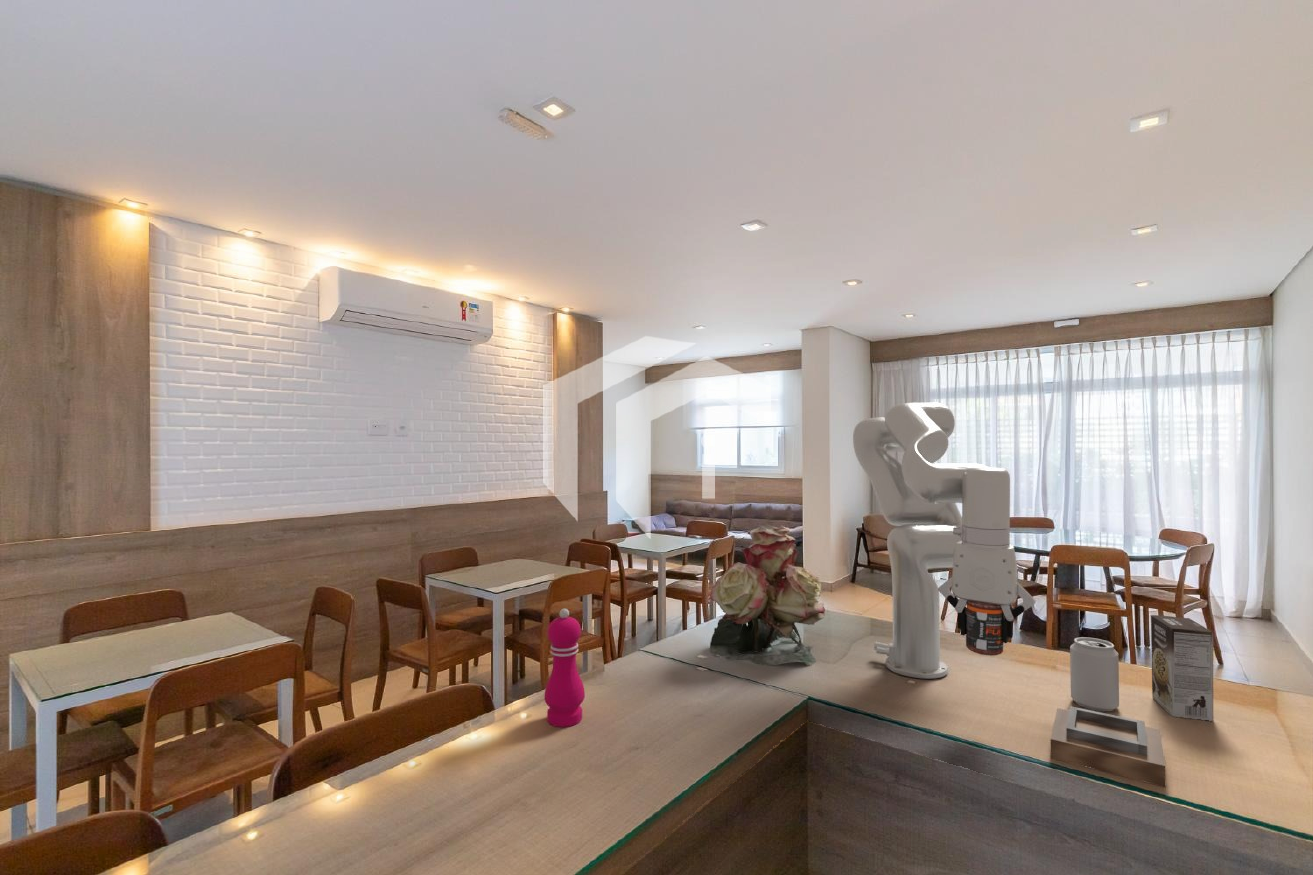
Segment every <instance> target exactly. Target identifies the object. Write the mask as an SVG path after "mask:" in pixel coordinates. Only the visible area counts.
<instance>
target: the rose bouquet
mask: <svg viewBox="0 0 1313 875" xmlns="http://www.w3.org/2000/svg"><path fill="white" fill-rule="evenodd" d="M790 531H791V529H790V528H789V527H785V526H784V525H783V524H782V525H780V526H779V527H777V526H774V525H769V524H768V525H761V524H759V526H758V527H756V528H753V529H751V530H749V531H747V535H749V536H750V538H751V540H752V542H753V544H750V545H749V546H748V547H744V548H742V549H741V551H742V553H743V554H744V558H745V561H746V563H742V562H736V563H734V564H732V565H731V566H728V569H726V571H724V573H723V574H722V575H721V576H720V577H718V578H717V579H716V581H715V583H714V585H712V588H711V590H710V591H711V592H710V594H709V598H710V599H711V600H712V601H714V602H715V603H716V605H718V606H719V609H721V610H722V612H723V613H724V615H722V616H721V618H720V619H718V622H717V626H716V627H714V628H713V629H714V632H713V633H712V636H711V640H710V643H709V647H710V648H709V650H710V653H711V656H713V657H717V658H726V657H730V659H728V661H729V660H731V661H732V660H749V661H751V662H752V663H754V664H756V665H765V666H778V665H781V664H782V665H783V664H788V663H789V664H790V663H796V662H797V663H798V662H799V663H804V664H805V665H806V666H813V664H814V663H816V662H817V660H816V658H815V657H814V655H813V654H812V652H811V650H812V648H814V645H808V646H805V644H803V642H802V641H803V639H802V637H801V636H800V633H799V630H798V628H797V626H796V624H795V623H797V624H803V625H808V626H809V625H811V626H813V625H814V626H815V623H818V622H819V621H820V620H822V619H824V617H825V613H826V609H825V606H824V602H820V601H819V598H820V597H821V593H820V592H821V591H822V582H821V580H820V578H819V577H818V576H815V575H813V573H811V572H810V571H809V570H808V569H806V568H805V567H801V566H795V561H796V560H797V557H798V553H799V551H798V549H796V546H797V544H795V542H796V540H797V539H796V538H795V537H793V536H790V535H788V534H787V533H789V532H790ZM776 641H779V643H776V644H773V642H774V643H775V642H776ZM772 644H773V645H772ZM769 648H771V649H770V650H769V651H765V652H760V651H763V650H764V649H769ZM758 652H759V653H758ZM743 653H744V654H743ZM739 654H742V655H739Z"/></svg>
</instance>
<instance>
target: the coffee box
mask: <svg viewBox="0 0 1313 875" xmlns="http://www.w3.org/2000/svg"><path fill="white" fill-rule="evenodd" d="M1150 625H1151V626H1150V634H1151V635H1150V637H1151V638H1150V642H1151V689H1152V690H1151V691H1152V692H1151V695H1152V696H1151V697H1152V699H1153V700H1154V701H1156V702H1157V704H1158V705H1160V707H1162V708H1163V709H1164V711H1166V712H1167V713H1168V714H1169V715H1170V716H1171V717H1173V718H1180V717H1185V718H1184V719H1189V718H1193V719H1192V720H1197V719H1201V720H1200V721H1205V720H1209V721H1208V722H1214V718H1215V717H1214V632H1213V631H1211V630H1210V629H1209V628H1207V627H1205V626H1203V625H1202V624H1200V623H1198V622H1197V621H1194V620H1193V619H1192V618H1190V617H1189V618H1188V617H1177V616H1170V615H1159V614H1158V615H1157V614H1151V615H1150Z"/></svg>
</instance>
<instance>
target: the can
mask: <svg viewBox="0 0 1313 875" xmlns="http://www.w3.org/2000/svg"><path fill="white" fill-rule="evenodd" d="M1073 641H1074V642H1073V643H1072V644H1071V645H1070V647H1069V652H1070V653H1069V654H1070V655H1069V657H1070V661H1069V663H1070V667H1069V668H1070V697H1071V699H1072V700H1073V701H1074V702H1075V703H1076V704H1077V705H1078V706H1080V707H1083V709H1086V710H1091V711H1095V710H1096V712H1102V711H1103V712H1102V713H1104V711H1108V712H1112V711H1114V710H1115V709H1117V708H1119V706H1120V683H1119V682H1120V670H1119V669H1120V667H1119V665H1120V664H1119V662H1120V661H1119V659H1120V658H1119V652H1118V651H1116V649H1115V645H1114V644H1113V643H1112V642H1110V641H1109V640H1104V639H1100V638H1095V637H1084V636H1081V637H1075V638H1074V639H1073Z"/></svg>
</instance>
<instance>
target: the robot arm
mask: <svg viewBox="0 0 1313 875" xmlns="http://www.w3.org/2000/svg"><path fill="white" fill-rule="evenodd" d="M955 424H956V422H955V416H954V413H953V411H952V410H951V409H950V407H948V405H947V406H946V405H945V404H943V403H940V402H902V403H898V404H895V405H893V406H892V407H890V408H889V409H888V411H887V412H886V413H885V417H883V416H881V417H880V416H879V417H870V418H866V419H863V420H861V421H860V422H858V423H857V424H856V425H855V427H854V429H853V434H852V441H853V443H852V444H853V449H854V453H855V456H856V459H857V461H858V462H859V465H860V466H861V468H862V470H863V471H864V473H865V474H866V475H867V477H868V480H869V481H870V483H871V487H872V490H873V493H874V495H875V497H876V500H877V503H878V506H879V508H880V511H881V514H882V515H883V518H884V520H885V521H886V522H887V523H888V524H889V525H891V526H895V527H894V528H892V529H891V531H889V533H888V535H887V540H886V544H887V545H886V546H887V552H888V558H889V564H890V570H891V585H892V586H891V587H892V588H891V589H892V590H891V592H892V642H889V643H883V642H879V641H875V642H874V645H873V648H874V649H873V650H874V651H875V652H876V654H880V655H886V656H887V658H886V659H885V666H886V667H887V668H888V670H890V671H891V672H893V673H896V674H898V675H901V676H905V677H909V678H915V679H922V680H923V679H927V680H929V679H930V680H931V679H939V678H943V677H945V676H947V674H948V672H949V667H948V665H947V664H946V663H945V662H943V661H941V643H940V642H941V637H940V636H941V634H940V631H941V630H940V628H941V627H940V626H941V625H940V624H941V623H940V621H941V620H940V594H941V596H943V597H944V598H945V599H946V600H947V602H948V603H949V604H950V605H951V606H952V607H953V608H954V610H955V612H957V614H956V616H957V618H956V619H957V620H956V621H957V630H958V629H959V630H960V635H961V636H966V608H967V600H970V601H977V602H983V603H990V604H997V605H1001V608H1002V610H1003V613H1004V619H1003V620H1002V642H1003V644H1008V642H1009V639H1013V637H1014V620H1015V619H1016V618H1018V617H1019V616H1020V615H1021V614H1023V613H1024V612H1025V611H1027V610H1028V609H1030V608H1031V607H1033V606H1034V605H1035V604H1036V599H1035V598H1034V597H1033V596H1032V595H1031V594H1030V593H1029V592H1028V591H1027V590H1026V588H1024V587H1023V585H1021V584H1020V582H1019V575H1018V574H1019V572H1018V563H1017V556H1016V551H1015V550H1016V549H1015V546H1014V545H1012V544H1010V540H1011V539H1010V537H1011V536H1010V532H1011V530H1010V524H1011V519H1010V518H1011V517H1010V516H1011V477H1010V473H1009V471H1008V470H1006V468H1002V467H994V466H993V467H991V466H987V465H986V464H982V463H970V462H969V463H960V462H959V463H958V462H956V463H953V462H951V463H950V462H949V463H947V462H946V463H943V462H942V463H939V462H938V461H939V460H940V459H941V458H943V456H944V455H945V454H946V452H947V450H948V448H949V438H950V437H951V435H952V434H953V433H954V431H955ZM890 452H893V453H897V452H899V453H900V452H901V453H902V452H903V455H902V459H901V463H900V462H899V460H898V459H896V458H894V457H893V456H891V455H890V454H889V453H890ZM936 462H938V463H936ZM957 504H961V505H962V506H961V513H960V510H959V508H958V506H957ZM935 568H936V569H937V568H940V569H942V568H947V569H949V568H950V569H951V568H952V575H951V577H950V578H948V579H947V580H946V581H945V582H944V583H942V584H941V585H939V587H938V584H937V582H936V581H935V579H933V577H932V576H931V574H930V573H929V571H928V570H929V569H935ZM950 588H951V590H950ZM1018 597H1020V598H1021V599H1022V602H1021V603H1019V604H1017V605H1016V606H1013V605H1014V604H1015V603H1016V602H1017V598H1018Z"/></svg>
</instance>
